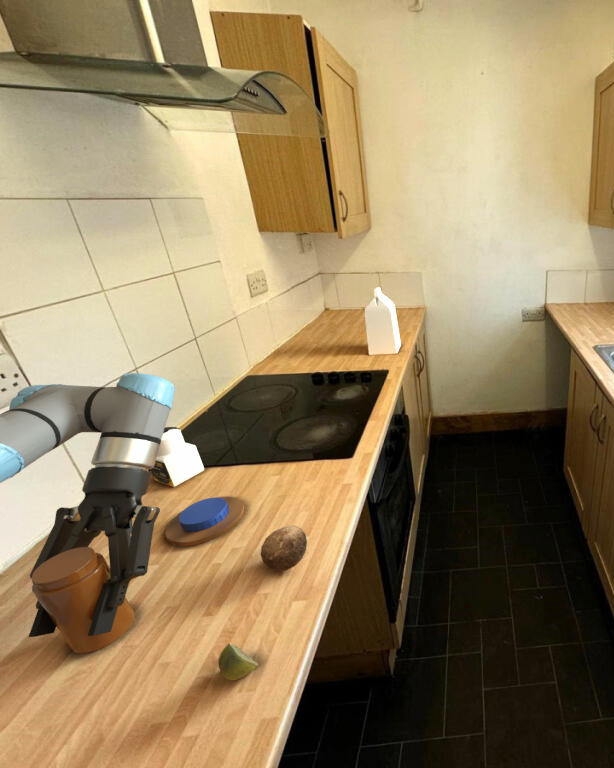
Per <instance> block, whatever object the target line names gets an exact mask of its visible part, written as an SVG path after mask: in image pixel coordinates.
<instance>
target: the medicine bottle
mask: <svg viewBox="0 0 614 768" xmlns="http://www.w3.org/2000/svg"><path fill="white" fill-rule="evenodd" d="M149 470H150V471H149V472H150V473H151V474H152V477H153V479H154V481H157V482H159V483H161V484H165V485H167V486H170V487H172V488H174V487H177V486H178V485H181V484H182V483H184V482H186V481H187V480H190V479H191V478H193V477H195V476H197V475H198V474H200V473H202V472H204V471H205V467H204V464H203V462H202V458H201V456H200V454H199V451H198V448H197V446H196V445H195V444H191V443H188V442H185V439H184V436H183V434H182V430H181V429H180V428H179V427H176V426H165V429H164V432H163V435H162V438H161V443H160V447H159V450H158V454H157V457H156V461H155V464H154V467H153V468H152V469H149Z"/></svg>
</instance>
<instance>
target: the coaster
mask: <svg viewBox="0 0 614 768" xmlns="http://www.w3.org/2000/svg"><path fill="white" fill-rule="evenodd" d="M215 498H222V499H224V500H225V501H226V502H227V505H228V508H229V512H228V514H227V516H226V517H225V518H224V519H223V520H222V521H221V522H219V523H218V524H216V525H214V526H212V527H210V528H208V529H205V530H201V531H196V532H189V531H186V530H184V529H183V528H182V527H181V525H180V521H179V516H180V514H181V513H182V512H183V511H184V510H185V509H183V510H182V511H180V512H179V513H178V514H176V515H175V516H174V517H173V518H171V520H170V521H169V522H168V524H167V525H166V527H165V531H164V535H165V537H166V539H167V541H168V542H169V543H170V544H172V545H174V546H178V547H179V546H180V547H190V546H191V547H192V546H195V545H201V544H203V543H207V542H210V541H212V540H215V539H216V538H219V537H220V536H222V535H225V534H226V533H227V532H228V531H231V529H233V528H234V527H235V526H236V525H237V524H238V523H239V522H240V521H241V520H242V518H243V516H244V513H245V507H244V503H243V502H242V500H241V499H239V498H237V497H234V496H217V497H215Z"/></svg>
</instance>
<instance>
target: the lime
mask: <svg viewBox="0 0 614 768" xmlns="http://www.w3.org/2000/svg"><path fill="white" fill-rule="evenodd" d="M217 664H218V669H219V674H220V675H221V676H222V677H223V678H225V679H227V680H229V681H237V680H239V679H242V678H244V677H247V676H248V675H250V674H251V673H253V672H254V671H255V670H256V669H257V667H258V666H259V663H258V662H257V661H255V660H254V658H252V657H251V656H250V655H248V654H247V653H245V652H244V651H243V650H242V649H241V648H240V647H238V646H236V645H235V644H233V643H232V642H229V643H227V644H226V646H224V647H223V649H222V650H221V652H220V654H219V656H218V661H217Z"/></svg>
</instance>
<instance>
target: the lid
mask: <svg viewBox="0 0 614 768" xmlns="http://www.w3.org/2000/svg"><path fill="white" fill-rule="evenodd" d="M183 510H184V511H183ZM183 510H182V511H183V512H182V511H181V512H182V513H181V514H180V516H179V521H180V525H181V527H182V528H183V529H184V530H186V531H189V532H196V531H201V530H205V529H208V528H210V527H212V526H214V525H216V524H218V523H219V522H221V521H222V520H223V519H224V518H225V517H226V516H227V514H228V512H229V508H228V505H227V502H226V501H225V500H224V499H222V498H216V497H208V498H204V499H201V500H198V501H196V502H194V503H192V504H190V505H189V506H187V507H186V508H184V509H183Z"/></svg>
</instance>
